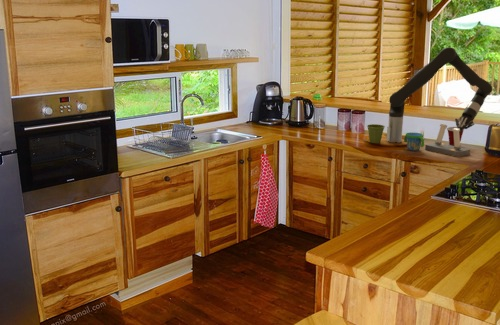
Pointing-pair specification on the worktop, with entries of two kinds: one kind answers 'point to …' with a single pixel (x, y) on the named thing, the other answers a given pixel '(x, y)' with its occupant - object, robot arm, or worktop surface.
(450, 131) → the plastic cup
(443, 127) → the inner lever
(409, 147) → the snack cup
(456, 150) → the switch base
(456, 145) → the outer lever
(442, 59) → the robot arm
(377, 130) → the plant pot
